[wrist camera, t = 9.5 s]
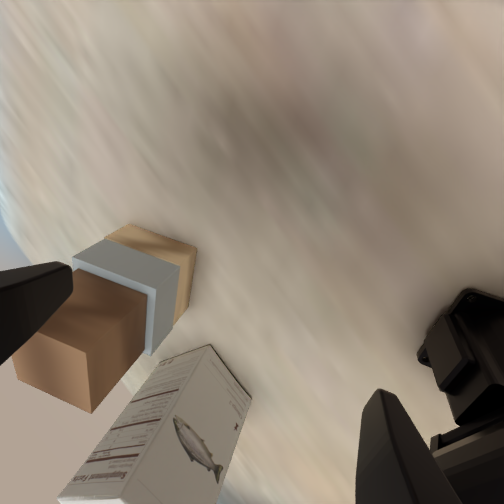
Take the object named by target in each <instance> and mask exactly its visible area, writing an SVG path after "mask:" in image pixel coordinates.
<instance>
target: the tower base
mask: <svg viewBox="0 0 504 504" xmlns="http://www.w3.org/2000/svg"><path fill="white" fill-rule="evenodd" d="M104 239H108V240H110V241H113V242H116V243H119V244H121V245H124V246H127V247H129V248H132V249H135V250H137V251H140V252H143V253H146V254H148V255H151V256H154V257H156V258H159V259H162V260H165V261H167V262H170V263H173V264H175V265H178V266H180V272H179V280H178V288H177V296H176V304H175V312H174V320H173V326H174V324H175V323H176V322H177V321H178V319H179V318H180V317H181V316H182V314H183V313H184V312H185V310H186V309H187V308H188V306H189V299H190V292H191V286H192V279H193V273H194V266H195V259H196V253H197V248H195V247H192V246H190V245H187V244H184V243H181V242H178V241H176V240H173V239H170V238H167V237H164V236H162V235H159V234H156V233H153V232H150V231H148V230H145V229H142V228H139V227H136V226H134V225H131V224H128V225H126V226H124V227H122V228H121V229H119V230H117V231H115V232H113V233H111V234H110V235H108V236H106V237H104Z"/></svg>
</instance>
